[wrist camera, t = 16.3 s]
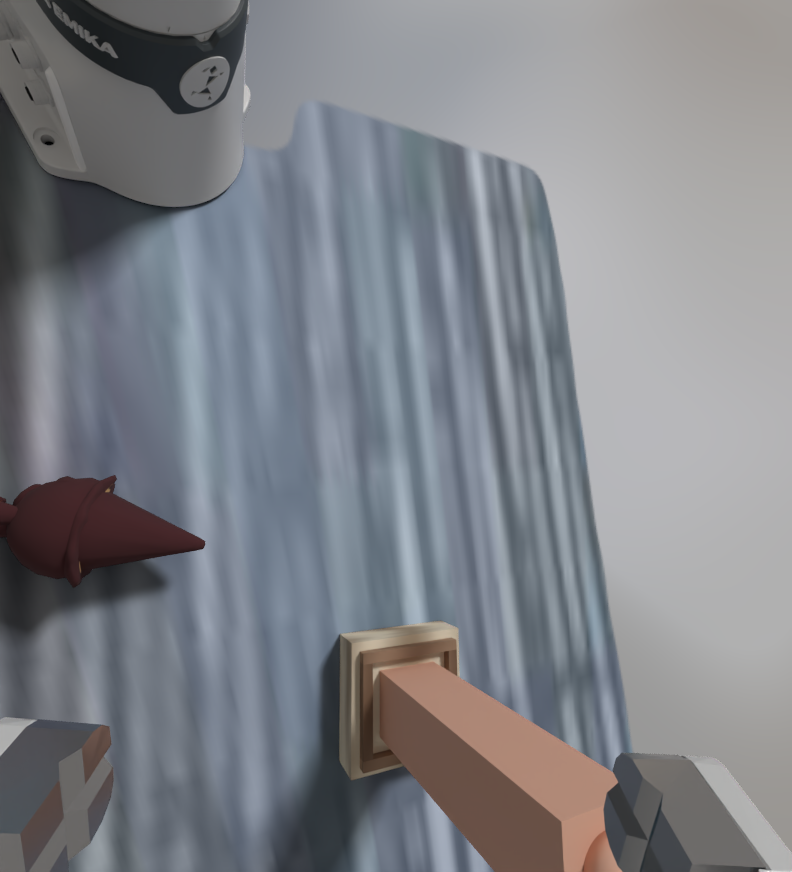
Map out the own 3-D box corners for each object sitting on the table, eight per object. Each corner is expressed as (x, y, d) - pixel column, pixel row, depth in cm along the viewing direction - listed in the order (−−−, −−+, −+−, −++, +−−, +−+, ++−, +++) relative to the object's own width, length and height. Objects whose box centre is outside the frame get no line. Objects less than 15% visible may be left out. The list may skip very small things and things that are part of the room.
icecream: (219, 480, 31) (-50, 432, 27) (190, 594, 28) (-121, 561, 23) (216, 507, 37) (-5, 471, 33) (192, 604, 34) (-58, 579, 29)
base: (339, 761, 38) (354, 786, 35) (340, 634, 40) (355, 646, 36) (443, 734, 42) (466, 754, 39) (441, 620, 44) (463, 630, 40)
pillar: (379, 736, 37) (587, 980, 18) (379, 670, 37) (579, 836, 19) (434, 724, 39) (672, 930, 20) (433, 661, 40) (662, 803, 21)
